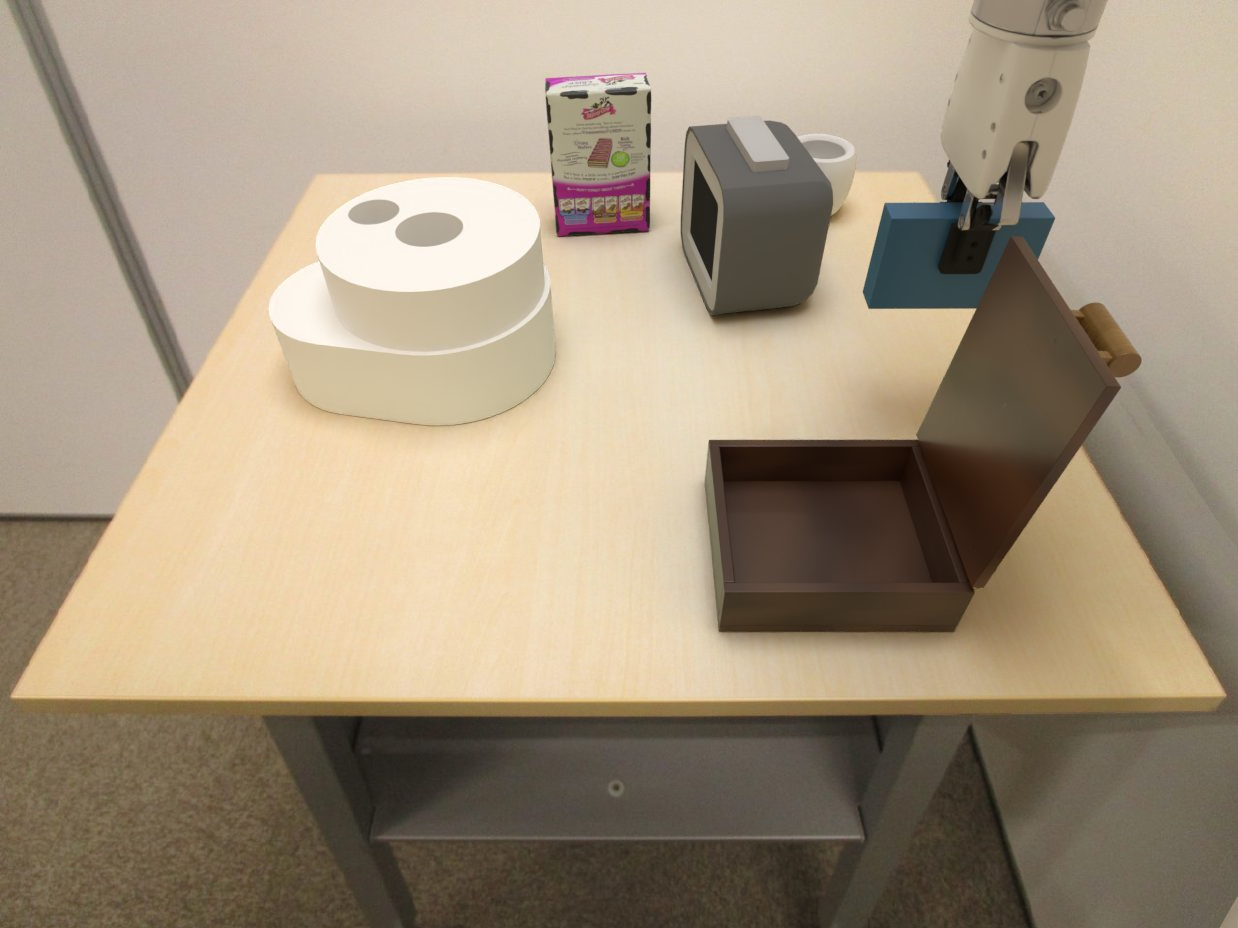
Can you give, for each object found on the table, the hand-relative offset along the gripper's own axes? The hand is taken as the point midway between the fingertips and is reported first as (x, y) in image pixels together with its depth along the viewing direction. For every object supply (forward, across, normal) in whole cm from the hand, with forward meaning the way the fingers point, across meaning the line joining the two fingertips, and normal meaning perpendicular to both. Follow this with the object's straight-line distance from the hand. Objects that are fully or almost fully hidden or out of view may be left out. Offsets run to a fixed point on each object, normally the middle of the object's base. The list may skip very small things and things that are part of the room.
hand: (953, 259), depth 63 cm
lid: (+1, -17, +2) cm, 17 cm away
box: (+15, -17, +11) cm, 25 cm away
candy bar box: (+15, +32, +28) cm, 46 cm away
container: (+15, +7, +45) cm, 48 cm away
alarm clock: (+15, +21, +12) cm, 29 cm away
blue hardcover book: (+4, 0, 0) cm, 4 cm away
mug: (+15, +34, +3) cm, 37 cm away
